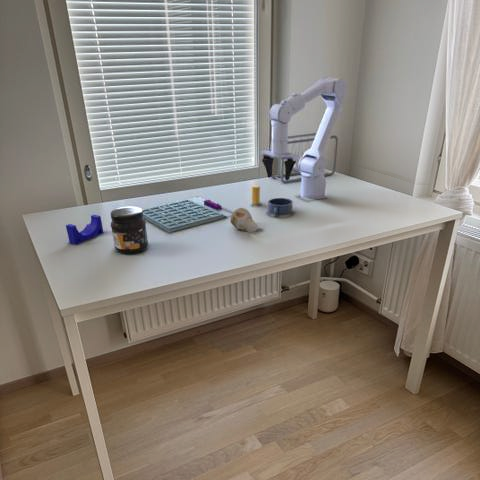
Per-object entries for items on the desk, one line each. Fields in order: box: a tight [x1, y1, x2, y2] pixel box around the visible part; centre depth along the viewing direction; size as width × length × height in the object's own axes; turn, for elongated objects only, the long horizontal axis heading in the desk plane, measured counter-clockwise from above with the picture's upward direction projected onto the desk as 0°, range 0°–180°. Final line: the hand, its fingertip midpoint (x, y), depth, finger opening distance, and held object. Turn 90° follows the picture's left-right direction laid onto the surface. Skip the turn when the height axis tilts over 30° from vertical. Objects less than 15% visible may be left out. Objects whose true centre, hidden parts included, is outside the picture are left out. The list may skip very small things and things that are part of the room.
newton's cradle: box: [269, 132, 339, 184], centre depth 210 cm, size 30×10×18 cm, turn 118°
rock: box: [230, 207, 260, 234], centre depth 155 cm, size 8×10×10 cm
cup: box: [267, 197, 294, 218], centre depth 169 cm, size 12×9×4 cm
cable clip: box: [65, 214, 104, 246], centre depth 152 cm, size 12×4×6 cm, turn 148°
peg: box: [251, 184, 261, 205], centre depth 177 cm, size 3×3×8 cm
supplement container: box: [110, 206, 149, 255], centre depth 141 cm, size 10×10×12 cm
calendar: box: [141, 196, 227, 233], centre depth 172 cm, size 27×29×2 cm
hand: (278, 178), depth 174 cm, fingers open, 7 cm apart
